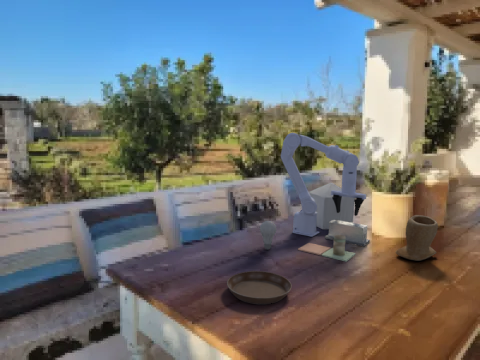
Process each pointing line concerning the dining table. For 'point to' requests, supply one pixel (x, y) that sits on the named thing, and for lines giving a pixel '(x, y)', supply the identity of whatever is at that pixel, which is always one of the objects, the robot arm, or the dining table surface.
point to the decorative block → (331, 206)
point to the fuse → (339, 245)
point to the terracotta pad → (314, 249)
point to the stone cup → (419, 238)
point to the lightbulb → (267, 233)
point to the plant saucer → (259, 287)
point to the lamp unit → (348, 232)
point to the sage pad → (342, 258)
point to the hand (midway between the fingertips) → (347, 213)
